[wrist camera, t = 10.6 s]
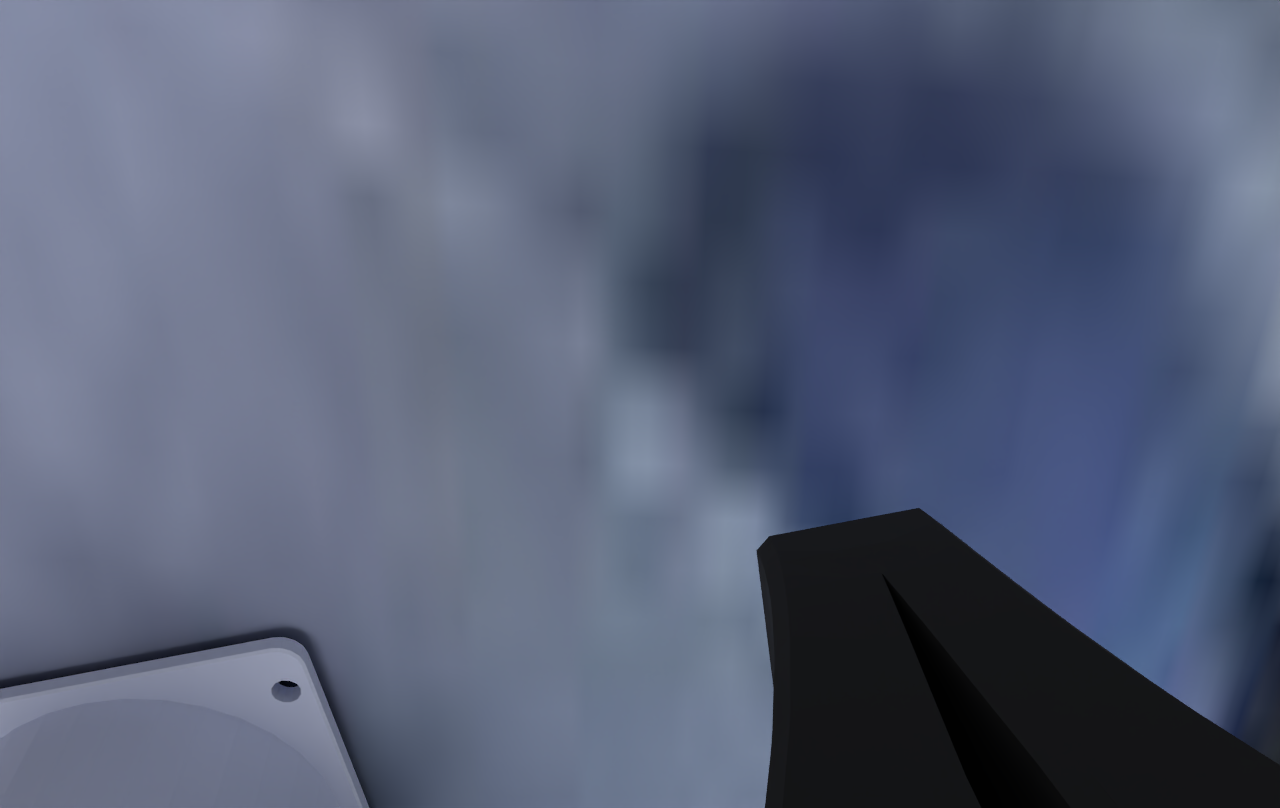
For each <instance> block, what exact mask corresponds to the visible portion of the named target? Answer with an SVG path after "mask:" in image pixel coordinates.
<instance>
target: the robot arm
mask: <svg viewBox="0 0 1280 808" xmlns="http://www.w3.org/2000/svg"><path fill="white" fill-rule="evenodd" d="M757 557H758V565H759V574H760V582H761V590H762V598H763V606H764V614H765V622H766V630H767V638H768V646H769V654H770V662H771V670H772V678H773V686H774V696H773V731H772V745H771V757H770V766H769V775H768V785H767V794H766V803H765V808H1280V765H1279V764H1277V763H1276V762H1274V761H1272V760H1271V759H1269V758H1268V757H1266V756H1265V755H1263V754H1261V753H1260V752H1258V751H1257V750H1255V749H1254V748H1252V747H1250V746H1249V745H1247V744H1246V743H1244V742H1243V741H1241V740H1239V739H1238V738H1236V737H1235V736H1233V735H1232V734H1230V733H1228V732H1227V731H1225V730H1224V729H1222V728H1221V727H1219V726H1217V725H1216V724H1214V723H1213V722H1211V721H1210V720H1208V719H1207V718H1205V717H1203V716H1202V715H1200V714H1199V713H1197V712H1196V711H1194V710H1193V709H1191V708H1190V707H1188V706H1187V705H1185V704H1184V703H1182V702H1181V701H1179V700H1178V699H1176V698H1175V697H1173V696H1172V695H1170V694H1169V693H1167V692H1166V691H1164V690H1163V689H1162V688H1160V687H1159V686H1157V685H1156V684H1154V683H1153V682H1151V681H1150V680H1148V679H1147V678H1146V677H1144V676H1143V675H1141V674H1140V673H1139V672H1137V671H1136V670H1134V669H1133V668H1131V667H1130V666H1129V665H1127V664H1126V663H1124V662H1123V661H1122V660H1120V659H1119V658H1117V657H1116V656H1115V655H1113V654H1112V653H1110V652H1109V651H1108V650H1106V649H1105V648H1103V647H1102V646H1101V645H1099V644H1098V643H1096V642H1095V641H1094V640H1092V639H1091V638H1089V637H1088V636H1087V635H1085V634H1084V633H1082V632H1081V631H1079V630H1078V629H1077V628H1075V627H1074V626H1073V625H1071V624H1070V623H1069V622H1067V621H1066V620H1065V619H1063V618H1062V617H1061V616H1059V615H1058V614H1056V613H1055V612H1054V611H1052V610H1051V609H1050V608H1048V607H1047V606H1046V605H1044V604H1043V603H1042V602H1040V601H1039V600H1038V599H1037V598H1035V597H1034V596H1033V595H1031V594H1030V593H1029V592H1027V591H1026V590H1025V589H1023V588H1022V587H1021V586H1020V585H1018V584H1017V583H1016V582H1014V581H1013V580H1012V579H1010V578H1009V577H1008V576H1006V575H1005V574H1004V573H1003V572H1001V571H1000V570H999V569H997V568H996V567H995V566H994V565H992V564H991V563H990V562H989V561H987V560H986V559H985V558H983V557H982V556H981V555H980V554H978V553H977V552H976V551H974V550H973V549H972V548H971V547H969V546H968V545H967V544H966V543H964V542H963V541H962V540H960V539H959V538H958V537H957V536H955V535H954V534H953V533H952V532H950V531H949V530H948V529H946V528H945V527H944V526H943V525H941V524H940V523H939V522H937V521H936V520H935V519H933V518H932V517H931V516H929V515H928V514H927V513H925V512H924V511H922V510H921V509H920V508H916V509H911V510H906V511H900V512H895V513H890V514H885V515H879V516H874V517H869V518H863V519H858V520H853V521H847V522H842V523H837V524H832V525H826V526H821V527H816V528H810V529H805V530H800V531H794V532H789V533H784V534H779V535H773V536H769V537H768V538H767V539H766V541H765V542H764V543H763V544H762V545H761V546H760V547H759V549H758V550H757ZM279 681H291V682H294V683H296V684H297V685H298V686H296V687H285V686H283V685H281V684H279ZM0 808H369V806H368V803H367V800H366V798H365V795H364V793H363V790H362V788H361V785H360V783H359V780H358V778H357V775H356V773H355V770H354V768H353V765H352V763H351V760H350V757H349V755H348V752H347V750H346V747H345V745H344V742H343V740H342V737H341V735H340V732H339V730H338V727H337V725H336V722H335V720H334V717H333V714H332V712H331V709H330V707H329V704H328V702H327V699H326V697H325V694H324V692H323V689H322V687H321V684H320V682H319V679H318V677H317V674H316V671H315V669H314V666H313V664H312V661H311V659H310V656H309V654H308V652H307V651H306V649H305V648H304V646H303V645H301V644H300V643H298V642H297V641H295V640H293V639H289V638H285V637H272V638H267V639H262V640H257V641H251V642H246V643H241V644H235V645H230V646H225V647H220V648H214V649H209V650H204V651H198V652H193V653H188V654H182V655H177V656H172V657H167V658H161V659H156V660H151V661H145V662H140V663H135V664H129V665H124V666H119V667H114V668H108V669H103V670H98V671H92V672H87V673H82V674H77V675H71V676H66V677H61V678H55V679H50V680H45V681H39V682H34V683H29V684H24V685H18V686H13V687H8V688H2V689H0Z"/></svg>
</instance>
